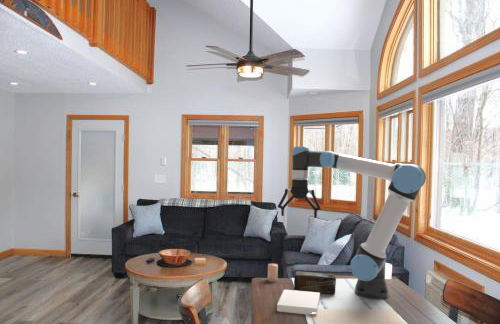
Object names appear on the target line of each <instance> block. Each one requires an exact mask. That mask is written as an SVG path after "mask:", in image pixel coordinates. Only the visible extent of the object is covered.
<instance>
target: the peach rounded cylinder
mask: <svg viewBox="0 0 500 324" xmlns="http://www.w3.org/2000/svg"><path fill="white" fill-rule="evenodd" d="M278 271H279V265H278V263H267V281H268V282H272V283H277V282H278V276H279V275H278V273H279V272H278Z"/></svg>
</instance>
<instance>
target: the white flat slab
mask: <svg viewBox="0 0 500 324" xmlns="http://www.w3.org/2000/svg"><path fill="white" fill-rule="evenodd" d="M320 299H321V293H319V292H308V291H297V290H294V289H284V288H283V290H282V293H281V295H280V297H279V299H278V302H277V303H276V304H277V305H276V311H277V312H280V313H291V314H299V315H307V314H310V313H312V312H317V310H318V311H319V307H318V306H320ZM317 313H318V312H317Z"/></svg>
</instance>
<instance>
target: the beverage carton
mask: <svg viewBox="0 0 500 324" xmlns="http://www.w3.org/2000/svg"><path fill="white" fill-rule="evenodd" d="M293 280H294V281H293V287H294V288H293V290H297V291H308V292H319V293H320V294H321V293H322V294H335V295H336V286H337V285H336V284H337V276H336V274H333V273H321V272H311V271H310V272H309V271H295V274H294V279H293Z"/></svg>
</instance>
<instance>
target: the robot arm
mask: <svg viewBox="0 0 500 324" xmlns="http://www.w3.org/2000/svg"><path fill="white" fill-rule="evenodd" d="M309 149H310V148H309V146H293V148H292V159H291V160H292V161H291V162H292V163H291V164H292V167H291V189H290V188H285V189H284V194H283V195H282V197H281V200H280V201H279V203H278V205H277V208H278V209H281V213H280V214H281V216H282V217H283V224H286V221H287V209H286V207H287V206H288V205H289V204H290V203H291V202H292V201H293V199H297V200H298V199H301V200H305V201H306V202H307V204H309V205H310V207H311V209H312V221H311V223H312V224H311V225H312V226H314V225H315V218H317V217H318V211H321V209H322V207H321V205H320V203H319V200H318V198H317V196H316V194H315V189H308V186H309V185H308V184H309V181H308V178H309V168H324V169H325V168H332V169H336V170H340V171H345V172H350V173H354V174H359V175H364V176H369V177H372V178H377V179H382V180H385V181H389V185H388V187H387V190H388V194H389V195H388V196H387V198H386V199H385V202H384V204H383V206H382V209H381V210H380V213H379V214H378V217H377V219H376V221H375V223H374V225H373V226H372V229H371V231H370V232H369V234H368V237H367V239H366V241H365V242H363V243H362V242H361V244H359V247H358V249H357V251H356V254H355V255H354V256H353V258H352V259H351V260H350V266H349V267H350V271H351V273H352V276H354V277H355V278H356V279H357V281H356V284H355V286H354V293H355V294H356V295H357V294H358V295H357V296H359V295H360V296H359V297H362V296H363V297H362V298H365V297H366V299H371V298H372V299H373V300H382V299H387V298H389V288H388V284H387V282H386V258H387V251H386V250H387V248H388V245H389V243H390V242H391V240H392V238H393V236H394V233H395V231H396V230H397V227H398V226H399V223H400V222H401V219H402V218H403V216H404V213H405V212H406V209H407V207H408V205H409V204H410V203H411V202H414V201H415V200H416V198H417V197H418V195H419V192H420V190H421V188H422V187H423V186H425V185H424V184H425V183H426V180H427V177H426V172H425V170H424V168H422V167H421V166H420V165H418V164H415V163H413V164H412V163H399V162H395V163H394V164H393V163H389V162H383V161H378V160H373V159H368V158H363V157H358V156H355V155H354V156H353V155H349V154H348V155H347V154H343V153H340V152H339V153H338V152H335V151H330V150H309ZM290 193H291V194H292V195H291V197H289V199H287V201H286V202H284V201H285V200H286V198H287V196H288V194H290ZM308 194H309V195H311V197H312V199H313V201H314V203H315V204H314V203H313V202H312V200H311V199H310V198H309V197H308ZM283 203H284V204H283ZM315 205H316V206H315ZM372 299H371V300H372Z"/></svg>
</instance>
